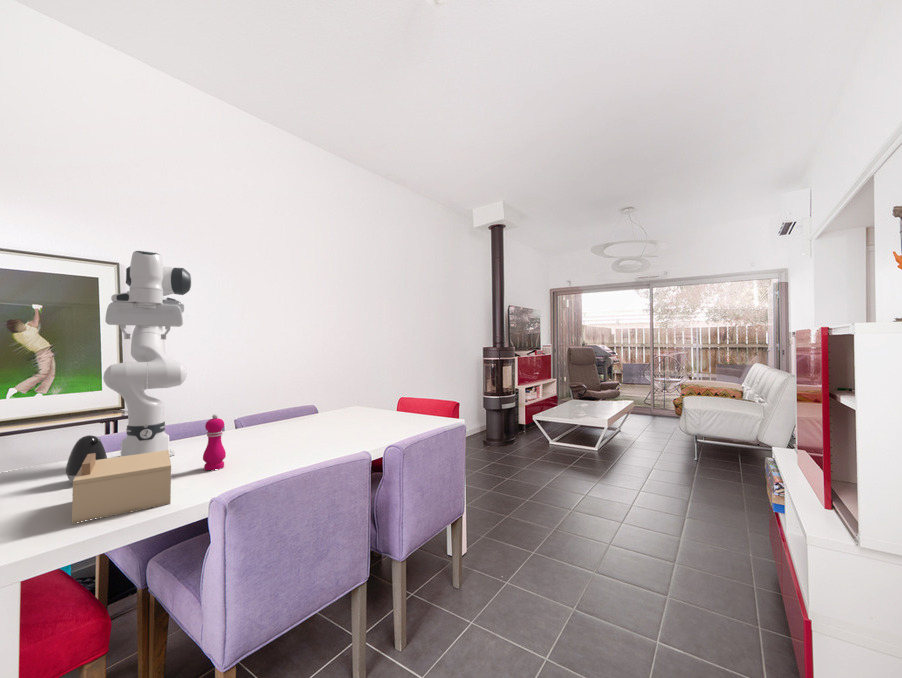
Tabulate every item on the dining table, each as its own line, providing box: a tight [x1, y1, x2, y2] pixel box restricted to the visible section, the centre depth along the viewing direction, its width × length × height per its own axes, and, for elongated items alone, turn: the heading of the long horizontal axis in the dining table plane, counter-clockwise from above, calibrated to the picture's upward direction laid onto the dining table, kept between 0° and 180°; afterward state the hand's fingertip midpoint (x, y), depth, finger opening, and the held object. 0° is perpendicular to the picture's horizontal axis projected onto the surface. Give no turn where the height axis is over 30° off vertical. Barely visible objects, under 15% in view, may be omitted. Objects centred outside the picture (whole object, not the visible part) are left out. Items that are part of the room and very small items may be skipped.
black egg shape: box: [65, 434, 108, 483], centre depth 125 cm, size 10×10×15 cm
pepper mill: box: [202, 413, 227, 471], centre depth 139 cm, size 7×7×20 cm
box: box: [71, 468, 172, 524], centre depth 109 cm, size 20×20×10 cm
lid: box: [72, 450, 172, 486], centre depth 109 cm, size 20×20×4 cm
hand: (145, 339), depth 126 cm, fingers open, 8 cm apart
